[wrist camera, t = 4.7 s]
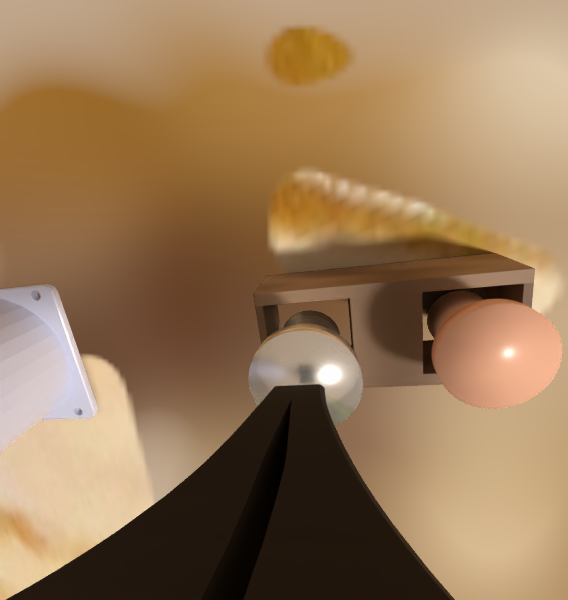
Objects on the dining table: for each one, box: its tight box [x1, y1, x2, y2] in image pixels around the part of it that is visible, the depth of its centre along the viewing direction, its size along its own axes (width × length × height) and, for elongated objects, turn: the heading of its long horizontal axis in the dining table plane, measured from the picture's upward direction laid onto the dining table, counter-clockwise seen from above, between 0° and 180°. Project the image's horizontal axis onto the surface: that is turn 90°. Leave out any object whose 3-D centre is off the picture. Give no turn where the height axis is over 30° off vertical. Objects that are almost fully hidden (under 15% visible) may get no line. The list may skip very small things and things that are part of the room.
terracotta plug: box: [427, 291, 562, 409], centre depth 12 cm, size 4×4×4 cm
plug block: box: [253, 253, 535, 388], centre depth 15 cm, size 10×4×3 cm, turn 98°
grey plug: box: [249, 311, 363, 426], centre depth 12 cm, size 4×4×4 cm
